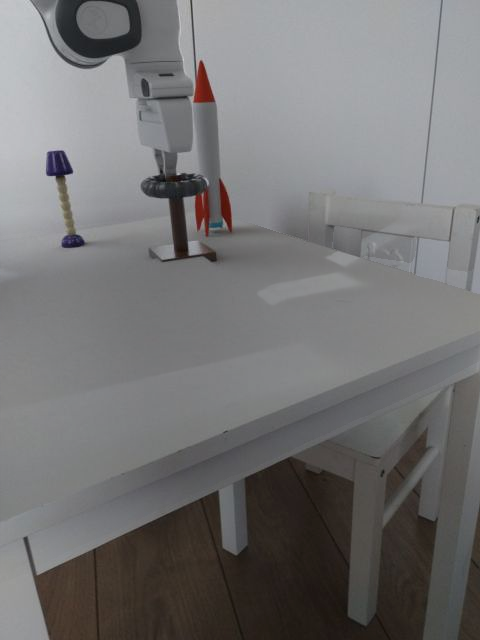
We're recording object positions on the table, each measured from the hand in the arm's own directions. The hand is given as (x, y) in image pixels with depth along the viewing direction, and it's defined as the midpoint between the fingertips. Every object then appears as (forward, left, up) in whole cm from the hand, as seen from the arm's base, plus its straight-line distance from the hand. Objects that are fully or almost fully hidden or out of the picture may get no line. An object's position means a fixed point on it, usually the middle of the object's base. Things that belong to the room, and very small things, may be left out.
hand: (167, 178), depth 93 cm
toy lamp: (-15, +17, -13) cm, 26 cm away
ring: (0, -4, -1) cm, 4 cm away
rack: (0, -4, -12) cm, 13 cm away
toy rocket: (+11, +11, -13) cm, 20 cm away
